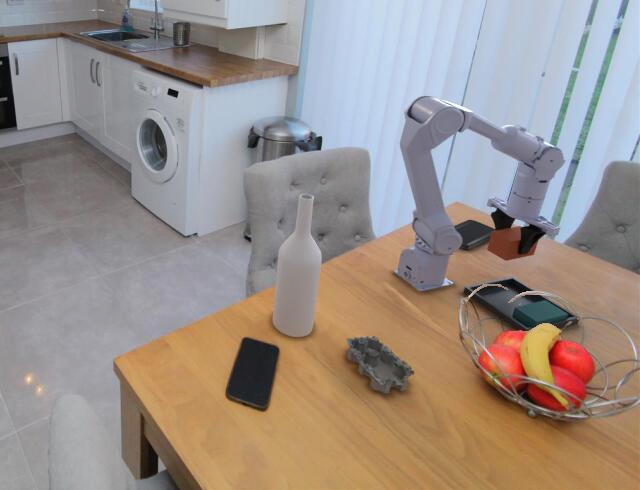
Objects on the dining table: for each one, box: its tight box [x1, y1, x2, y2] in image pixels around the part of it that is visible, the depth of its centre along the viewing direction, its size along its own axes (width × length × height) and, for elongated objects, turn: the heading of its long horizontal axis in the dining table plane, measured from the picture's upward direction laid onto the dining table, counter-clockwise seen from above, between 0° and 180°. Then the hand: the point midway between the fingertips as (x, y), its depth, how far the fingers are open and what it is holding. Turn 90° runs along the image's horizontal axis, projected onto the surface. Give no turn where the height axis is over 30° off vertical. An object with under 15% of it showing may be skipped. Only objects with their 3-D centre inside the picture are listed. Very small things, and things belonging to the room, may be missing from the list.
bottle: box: [272, 193, 323, 338], centre depth 95 cm, size 8×8×30 cm
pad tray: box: [463, 276, 581, 331], centre depth 102 cm, size 13×14×2 cm
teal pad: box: [512, 300, 568, 328], centre depth 98 cm, size 8×4×2 cm, turn 104°
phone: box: [454, 219, 496, 251], centre depth 129 cm, size 8×1×15 cm
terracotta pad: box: [486, 225, 539, 262], centre depth 109 cm, size 8×5×5 cm, turn 104°
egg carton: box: [346, 335, 415, 395], centre depth 88 cm, size 11×8×4 cm
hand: (511, 247), depth 109 cm, fingers closed on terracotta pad, 4 cm apart
